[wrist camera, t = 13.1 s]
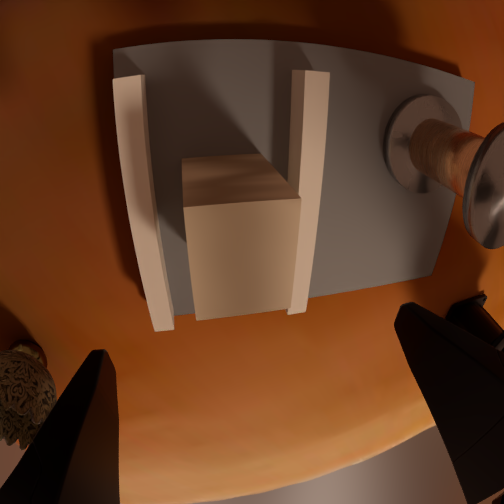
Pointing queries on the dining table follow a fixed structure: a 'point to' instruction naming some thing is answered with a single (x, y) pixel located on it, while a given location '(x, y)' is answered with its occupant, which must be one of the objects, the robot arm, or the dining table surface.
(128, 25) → the dining table surface
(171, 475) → the dining table surface
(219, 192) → the block
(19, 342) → the cup
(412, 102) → the bobbin
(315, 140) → the board
